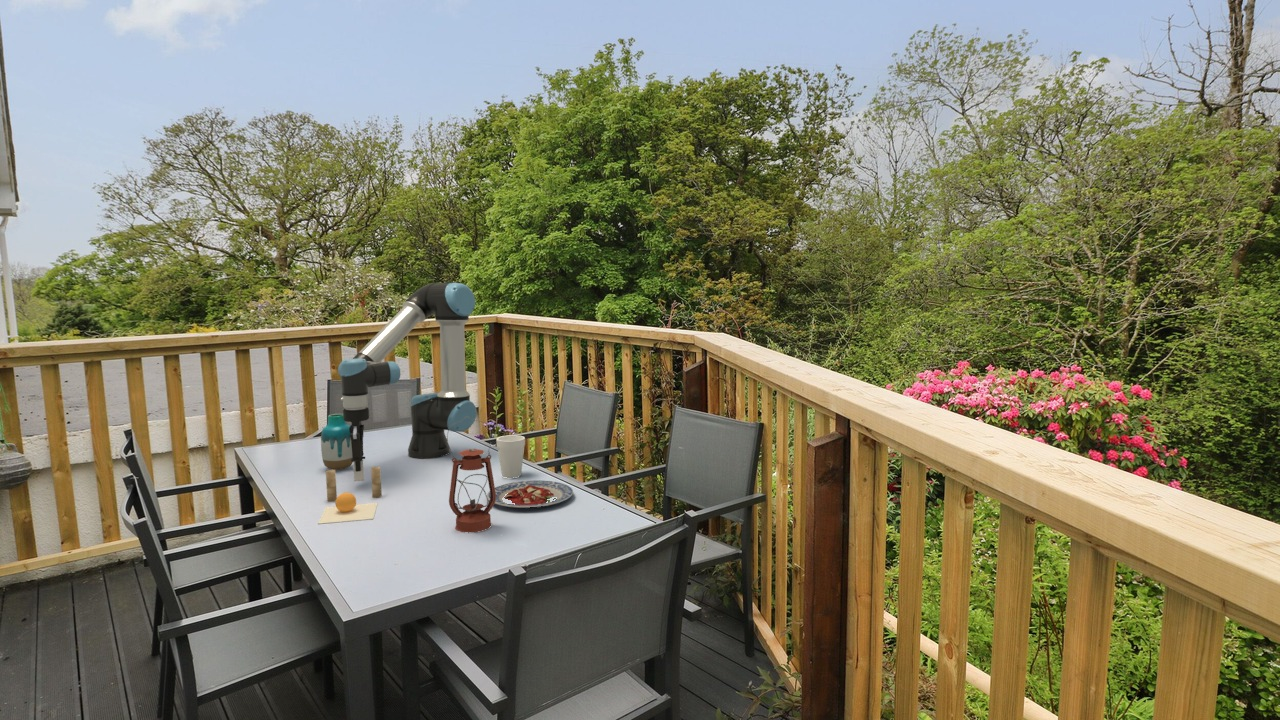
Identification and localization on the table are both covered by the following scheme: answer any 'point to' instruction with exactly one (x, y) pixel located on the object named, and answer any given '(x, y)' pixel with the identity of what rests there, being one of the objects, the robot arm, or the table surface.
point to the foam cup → (511, 454)
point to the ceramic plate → (531, 493)
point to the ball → (345, 502)
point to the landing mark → (348, 514)
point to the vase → (336, 443)
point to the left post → (331, 485)
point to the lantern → (473, 515)
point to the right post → (376, 482)
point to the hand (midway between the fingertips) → (359, 480)
